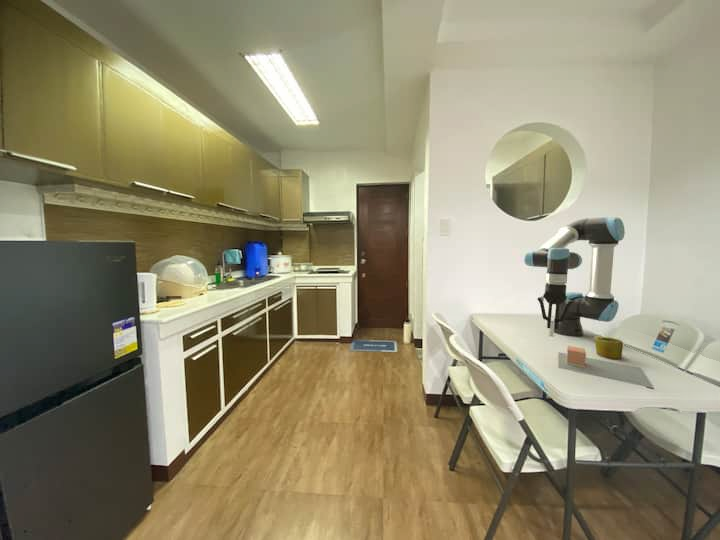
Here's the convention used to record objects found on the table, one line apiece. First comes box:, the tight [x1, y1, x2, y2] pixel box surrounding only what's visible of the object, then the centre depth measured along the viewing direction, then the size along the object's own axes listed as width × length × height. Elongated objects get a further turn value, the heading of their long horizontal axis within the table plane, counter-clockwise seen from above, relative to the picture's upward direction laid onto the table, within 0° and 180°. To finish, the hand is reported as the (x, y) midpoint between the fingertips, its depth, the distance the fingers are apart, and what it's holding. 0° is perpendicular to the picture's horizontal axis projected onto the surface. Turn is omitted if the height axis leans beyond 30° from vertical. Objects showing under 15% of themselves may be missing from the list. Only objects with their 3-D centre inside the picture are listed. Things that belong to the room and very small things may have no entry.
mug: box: [593, 336, 624, 360], centre depth 130 cm, size 12×10×10 cm
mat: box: [557, 351, 654, 390], centre depth 117 cm, size 20×28×1 cm
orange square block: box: [566, 345, 587, 367], centre depth 121 cm, size 6×6×6 cm
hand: (551, 335), depth 125 cm, fingers closed
